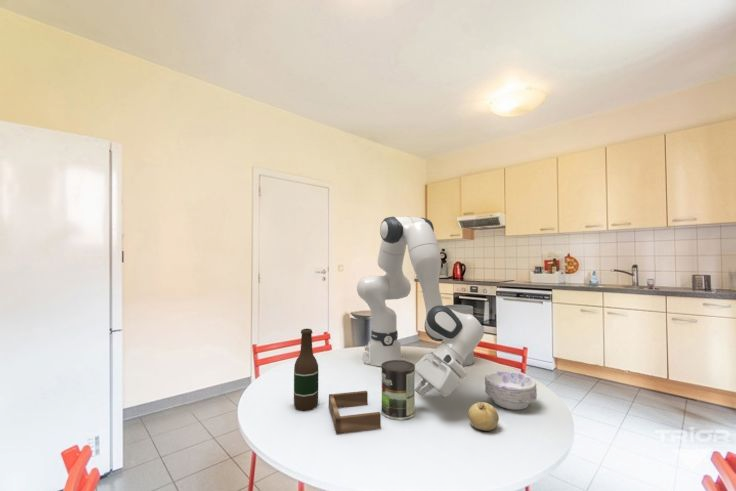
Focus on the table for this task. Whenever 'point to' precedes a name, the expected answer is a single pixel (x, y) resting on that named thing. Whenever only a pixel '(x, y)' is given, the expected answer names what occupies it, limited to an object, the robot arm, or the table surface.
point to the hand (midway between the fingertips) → (417, 393)
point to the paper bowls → (510, 389)
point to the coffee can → (398, 389)
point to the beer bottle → (306, 375)
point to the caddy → (352, 421)
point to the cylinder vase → (465, 310)
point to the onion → (483, 416)
